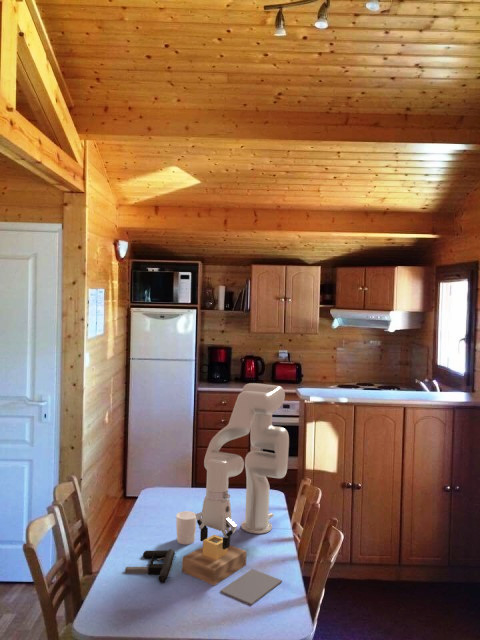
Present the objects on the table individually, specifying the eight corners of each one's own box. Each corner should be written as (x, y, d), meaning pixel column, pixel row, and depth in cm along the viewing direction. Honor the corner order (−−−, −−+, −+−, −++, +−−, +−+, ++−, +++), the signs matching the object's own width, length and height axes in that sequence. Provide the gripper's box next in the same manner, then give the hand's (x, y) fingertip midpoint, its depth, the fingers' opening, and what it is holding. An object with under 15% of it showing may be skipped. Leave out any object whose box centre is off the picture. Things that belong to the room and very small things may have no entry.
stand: (214, 553, 198) (215, 527, 198) (245, 565, 190) (246, 538, 190) (181, 571, 183) (182, 544, 183) (214, 585, 175) (215, 556, 175)
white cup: (192, 546, 203) (193, 520, 203) (172, 543, 204) (173, 517, 204) (198, 537, 211) (199, 512, 210) (179, 535, 212) (180, 510, 212)
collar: (213, 548, 191) (214, 534, 190) (227, 553, 187) (227, 539, 187) (202, 554, 186) (203, 540, 186) (216, 559, 182) (216, 545, 182)
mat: (252, 570, 186) (252, 569, 186) (281, 582, 179) (282, 580, 179) (220, 592, 171) (220, 590, 171) (251, 605, 164) (251, 603, 164)
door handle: (120, 575, 175) (170, 574, 175) (134, 548, 195) (178, 547, 195) (121, 585, 175) (170, 584, 175) (134, 557, 195) (178, 556, 195)
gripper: (243, 497, 184) (241, 547, 184) (204, 486, 194) (202, 534, 194) (230, 503, 178) (228, 555, 178) (190, 491, 188) (188, 540, 188)
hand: (214, 544), depth 186 cm, fingers open, 9 cm apart
